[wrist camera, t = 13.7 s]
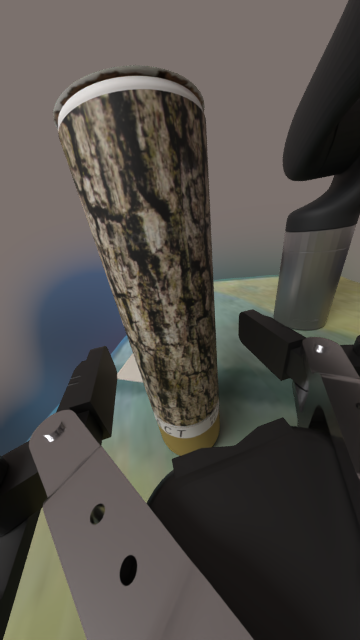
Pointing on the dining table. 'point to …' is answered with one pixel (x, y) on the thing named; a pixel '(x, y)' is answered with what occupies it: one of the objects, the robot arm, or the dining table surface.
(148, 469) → the dining table surface
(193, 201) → the brown bark cylinder
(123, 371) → the card
